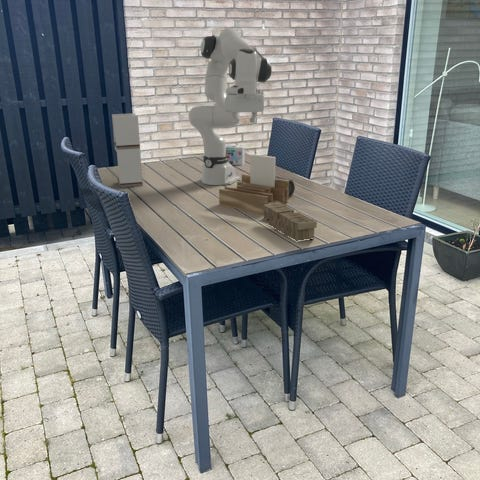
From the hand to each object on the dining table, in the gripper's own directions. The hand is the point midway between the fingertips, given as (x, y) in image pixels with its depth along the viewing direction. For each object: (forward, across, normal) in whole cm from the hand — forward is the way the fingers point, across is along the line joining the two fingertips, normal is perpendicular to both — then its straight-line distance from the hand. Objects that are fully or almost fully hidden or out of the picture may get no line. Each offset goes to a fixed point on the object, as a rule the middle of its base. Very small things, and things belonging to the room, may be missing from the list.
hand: (244, 123), depth 224 cm
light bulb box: (+32, -56, -64) cm, 91 cm away
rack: (+36, -1, +7) cm, 37 cm away
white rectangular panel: (+34, -8, +5) cm, 35 cm away
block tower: (+37, +11, +38) cm, 54 cm away
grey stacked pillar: (+37, +17, -66) cm, 77 cm away
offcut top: (+29, -1, +6) cm, 30 cm away
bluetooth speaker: (+35, -20, -1) cm, 40 cm away
